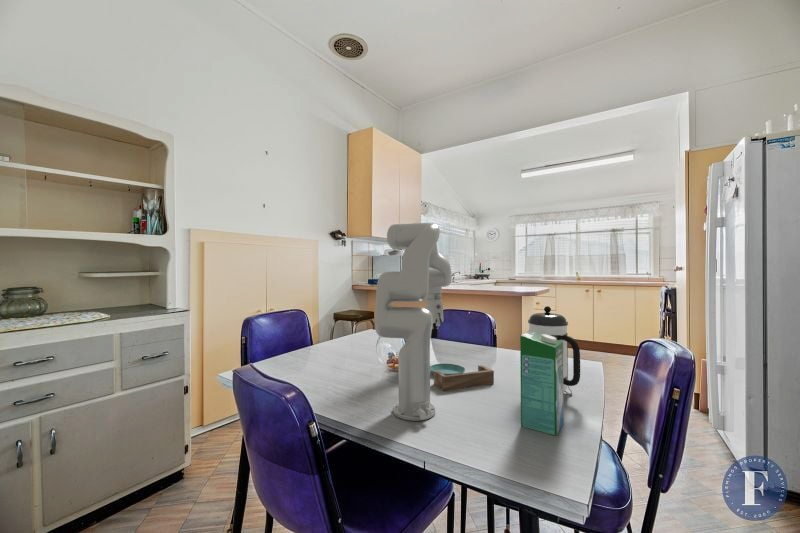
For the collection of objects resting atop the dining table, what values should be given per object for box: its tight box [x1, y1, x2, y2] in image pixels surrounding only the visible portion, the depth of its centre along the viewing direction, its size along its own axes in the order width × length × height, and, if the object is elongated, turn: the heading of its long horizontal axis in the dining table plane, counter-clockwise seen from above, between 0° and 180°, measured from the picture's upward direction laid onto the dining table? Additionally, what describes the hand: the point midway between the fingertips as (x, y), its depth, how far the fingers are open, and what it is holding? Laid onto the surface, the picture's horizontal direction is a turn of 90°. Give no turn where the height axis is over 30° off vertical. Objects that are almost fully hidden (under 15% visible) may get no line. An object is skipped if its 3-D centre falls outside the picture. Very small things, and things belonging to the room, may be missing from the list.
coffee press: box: [527, 306, 581, 396], centre depth 115 cm, size 17×16×30 cm
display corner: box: [433, 364, 495, 392], centre depth 124 cm, size 8×21×5 cm, turn 111°
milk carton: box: [519, 330, 565, 436], centre depth 92 cm, size 9×9×25 cm
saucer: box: [430, 363, 466, 375], centre depth 136 cm, size 15×15×3 cm
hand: (433, 337), depth 149 cm, fingers closed
